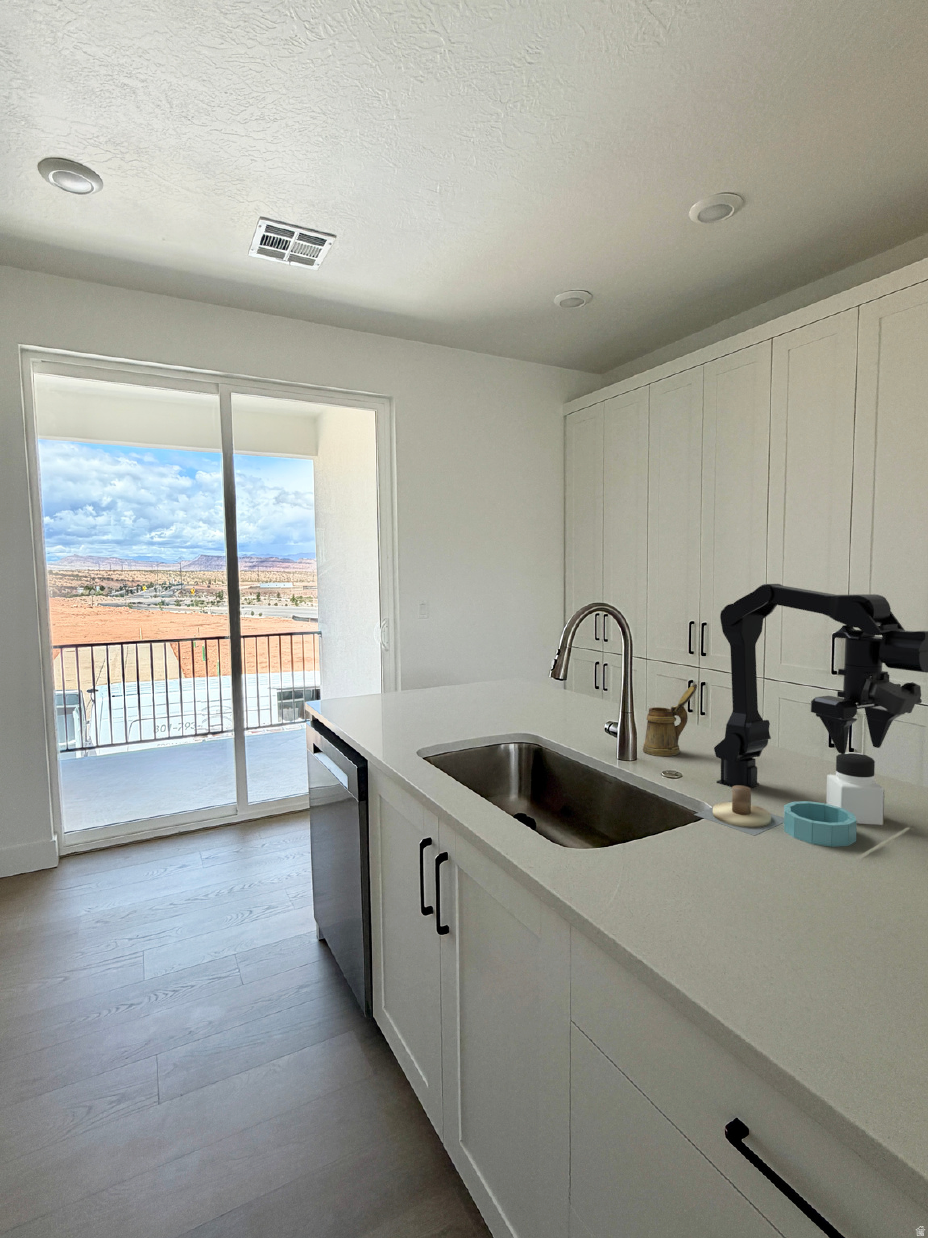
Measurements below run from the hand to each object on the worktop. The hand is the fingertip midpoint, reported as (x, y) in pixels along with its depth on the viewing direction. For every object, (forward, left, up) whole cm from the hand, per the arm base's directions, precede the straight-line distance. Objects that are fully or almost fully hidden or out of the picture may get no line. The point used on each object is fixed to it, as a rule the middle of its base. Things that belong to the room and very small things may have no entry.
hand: (859, 750), depth 110 cm
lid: (-14, -14, -13) cm, 24 cm away
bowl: (-2, -10, -14) cm, 17 cm away
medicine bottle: (-2, +3, -14) cm, 14 cm away
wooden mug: (-50, +13, -14) cm, 54 cm away
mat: (-14, -14, -14) cm, 24 cm away
